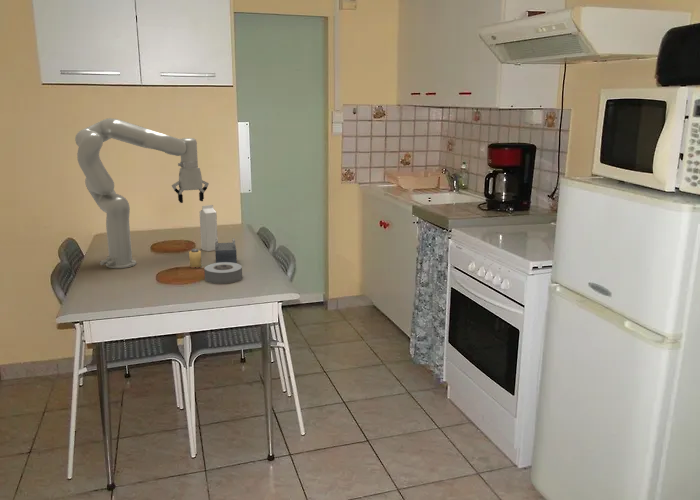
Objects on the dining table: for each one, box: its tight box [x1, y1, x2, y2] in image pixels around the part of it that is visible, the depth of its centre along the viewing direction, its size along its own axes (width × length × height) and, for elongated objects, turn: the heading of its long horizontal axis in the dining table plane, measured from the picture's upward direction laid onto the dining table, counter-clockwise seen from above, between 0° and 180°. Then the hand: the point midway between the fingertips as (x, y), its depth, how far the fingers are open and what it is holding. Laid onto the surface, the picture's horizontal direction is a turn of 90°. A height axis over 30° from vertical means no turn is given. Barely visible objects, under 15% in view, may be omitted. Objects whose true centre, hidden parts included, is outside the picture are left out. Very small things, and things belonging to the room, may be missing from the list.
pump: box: [188, 248, 202, 268], centre depth 265 cm, size 5×5×8 cm
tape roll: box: [204, 262, 243, 285], centre depth 249 cm, size 15×15×5 cm
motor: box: [214, 238, 238, 264], centre depth 271 cm, size 17×9×11 cm, turn 13°
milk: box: [199, 204, 219, 252], centre depth 293 cm, size 6×6×22 cm
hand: (191, 201), depth 282 cm, fingers open, 9 cm apart
